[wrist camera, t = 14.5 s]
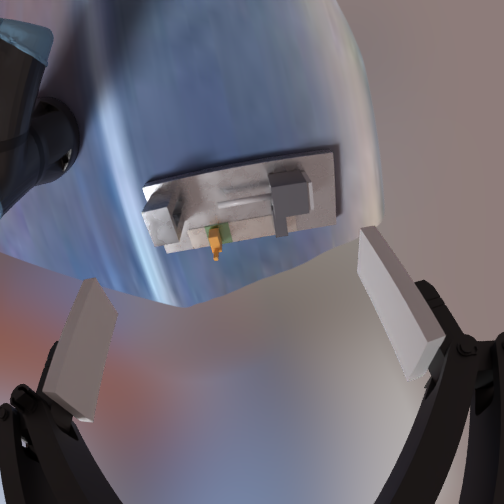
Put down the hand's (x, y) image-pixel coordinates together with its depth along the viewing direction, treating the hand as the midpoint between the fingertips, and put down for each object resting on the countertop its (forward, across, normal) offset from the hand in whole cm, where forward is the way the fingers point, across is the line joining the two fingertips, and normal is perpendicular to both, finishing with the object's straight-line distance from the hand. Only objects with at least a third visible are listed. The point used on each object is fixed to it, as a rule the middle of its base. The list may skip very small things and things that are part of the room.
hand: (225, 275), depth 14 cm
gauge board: (+34, 0, -13) cm, 36 cm away
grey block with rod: (+32, +4, -14) cm, 35 cm away
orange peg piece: (+31, -5, -18) cm, 36 cm away
